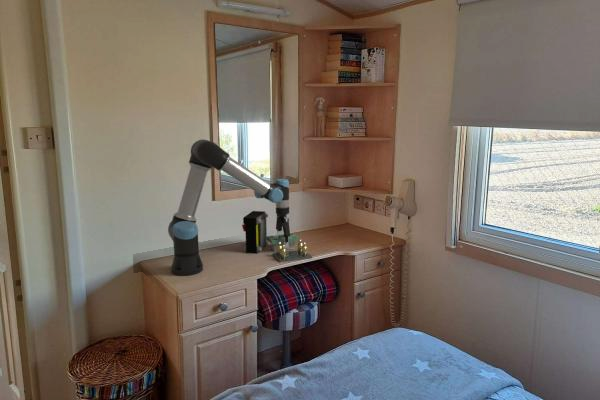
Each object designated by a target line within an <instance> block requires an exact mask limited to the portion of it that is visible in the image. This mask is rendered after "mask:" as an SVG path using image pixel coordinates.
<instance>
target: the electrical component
mask: <svg viewBox="0 0 600 400" xmlns="http://www.w3.org/2000/svg"><path fill="white" fill-rule="evenodd" d="M268 216H269V214H268V213H267V212H266V211H263V210H261V211H260V210H252V211H250V212H249V213H248V214H246V215H245V216H244V217H243V218H242V220H243V221H242V225H241V227H242V230H243V232H245V253H246V254H253V255H254V254H255V255H257V254H259V253H260V252H262V250H263V249H264V248H265V247H266V245H269V241H268V240H267V236H268V235H267V233H268V232H267V230H268V229H267V218H269V217H268Z"/></svg>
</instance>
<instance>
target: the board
mask: <svg viewBox="0 0 600 400" xmlns="http://www.w3.org/2000/svg"><path fill="white" fill-rule="evenodd" d="M283 236H284V233H282V235H277V234H275V235H267V241H268V243H269V244H271V245H272V244H279V242H281V243H284V237H283ZM299 240H300V237H299V236H297V235H296V234H294V233H290V236H289V242H294V243H298V242H299Z"/></svg>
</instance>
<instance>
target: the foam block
mask: <svg viewBox="0 0 600 400" xmlns="http://www.w3.org/2000/svg"><path fill="white" fill-rule="evenodd" d="M277 245H279V244H271V250H272V251H273V252H277ZM281 245H284V243H281ZM288 250H289V251H291V250H295V242H289V248H286V251H288Z"/></svg>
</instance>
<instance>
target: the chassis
mask: <svg viewBox="0 0 600 400" xmlns="http://www.w3.org/2000/svg"><path fill="white" fill-rule="evenodd" d="M272 256H273V257H274V258H275V259H276V261H278V262H279V263H286V262H292V261H293V262H294V261H301V260H302V261H303V260H309V259H313V256H312V255H311V254H310V253H308V245H307V244H306V242H305V241H304V242H302V239H300V238H299V241H298V242H297V250H289V251H288V250H286V248H284V245H281V242H279V245H277V251H276V252H272Z"/></svg>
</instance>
